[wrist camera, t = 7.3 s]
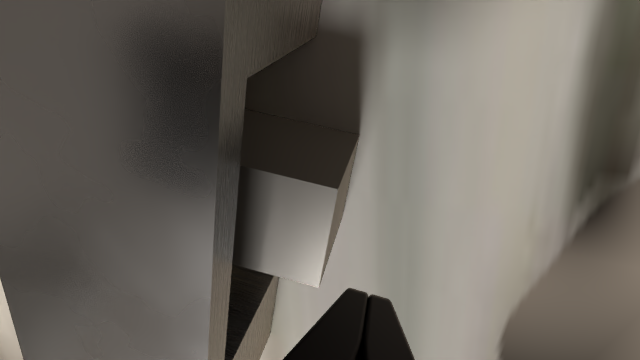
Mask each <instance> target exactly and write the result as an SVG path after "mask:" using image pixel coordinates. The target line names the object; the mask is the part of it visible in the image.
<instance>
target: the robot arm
mask: <svg viewBox="0 0 640 360" xmlns="http://www.w3.org/2000/svg"><path fill="white" fill-rule="evenodd" d="M283 360H415V359H414V357H413V354H412V352H411V349H410V347H409V344H408V342H407V339H406V337H405V334H404V332H403V329H402V327H401V325H400V322H399V320H398V317H397V315H396V312H395V310H394V307H393V305H392V303H391V301H390V300H389V299H387V298H383V297H380V296H377V295H373V294H372V295H370V296H369V297H368V294H367V293H366V292H363V291H359V290H356V289H352V288H348V289H347V290H346V291H345V292H344V293H343V294H342V295H341V296H340V297H339V298H338V299H337V300H336V301H335V303H334V304H333V305H332V306H331V307H330V308H329V309H328V310H327V311H326V313H325V314H324V315H323V316H322V317H321V318H320V319H319V320H318V321H317V322H316V324H315V325H314V326H313V327H312V328H311V329H310V330H309V331H308V332H307V333H306V335H305V336H304V337H303V338H302V339H301V340H300V341H299V342H298V343H297V344H296V346H295V347H294V348H293V349H292V350H291V351H290V352H289V353H288V354H287V356H286V357H285V358H284V359H283Z"/></svg>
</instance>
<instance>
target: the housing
mask: <svg viewBox="0 0 640 360" xmlns="http://www.w3.org/2000/svg"><path fill="white" fill-rule="evenodd" d="M321 2H322V0H0V278H1V282H2V285H3V289H4V292H5V296H6V299H7V303H8V306H9V310H10V313H11V317H12V320H13V324H14V327H15V331H16V334H17V338H18V341H19V345H20V348H21V352H22V355H23V359H24V360H259V359H260V357H261V355H262V352H263V350H264V348H265V345H266V343H267V340H268V338H269V336H270V330H271V324H272V318H273V311H274V305H275V298H276V292H277V285H278V279H279V277H277V276H273V275H270V274H266V273H263V272H259V271H255V270H252V269H248V268H245V267H241V266H237V265H234V264H232V259H233V246H234V234H235V221H236V209H237V196H238V184H239V171H240V159H241V146H242V134H243V121H244V109H245V96H246V83H247V78H249V77H250V76H252V75H254V74H255V73H257V72H259V71H260V70H262V69H263V68H265V67H267V66H268V65H270V64H272V63H273V62H275V61H277V60H278V59H280V58H282V57H283V56H285V55H287V54H288V53H290V52H291V51H293V50H295V49H296V48H298V47H300V46H301V45H303V44H305V43H306V42H308V41H310V40H311V39H313V38H315V37H316V34H317V28H318V21H319V15H320V9H321Z"/></svg>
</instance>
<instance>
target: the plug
mask: <svg viewBox="0 0 640 360" xmlns="http://www.w3.org/2000/svg"><path fill="white" fill-rule="evenodd" d="M358 140H359V135H358V134H353V133H349V132H344V131H340V130H335V129H331V128H326V127H322V126H317V125H313V124H309V123H304V122H300V121H295V120H291V119H286V118H282V117H277V116H273V115H269V114H264V113H260V112H255V111H251V110H246V109H244V121H243V134H242V146H241V159H240V171H239V184H238V196H237V209H236V221H235V234H234V246H233V259H232V264H234V265H237V266H241V267H245V268H248V269H252V270H255V271H259V272H263V273H266V274H270V275H273V276H277V277H281V278H284V279H288V280H291V281H295V282H299V283H302V284H306V285H310V286H313V287H317V288H319V286H320V283H321V280H322V277H323V274H324V271H325V268H326V265H327V262H328V259H329V256H330V253H331V250H332V247H333V244H334V241H335V238H336V235H337V232H338V229H339V226H340V223H341V220H342V216H343V211H344V207H345V202H346V197H347V192H348V188H349V183H350V178H351V173H352V168H353V164H354V159H355V154H356V149H357V145H358Z"/></svg>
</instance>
